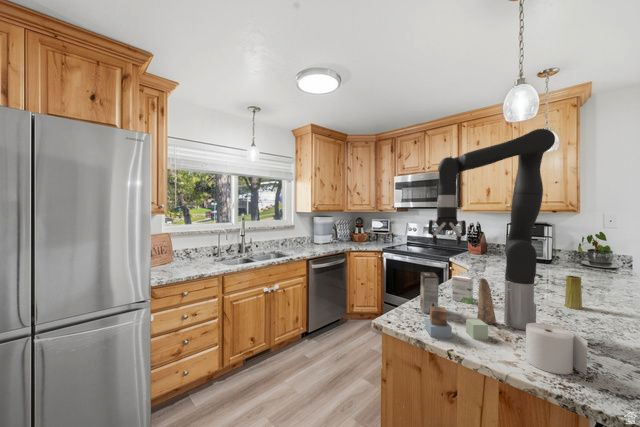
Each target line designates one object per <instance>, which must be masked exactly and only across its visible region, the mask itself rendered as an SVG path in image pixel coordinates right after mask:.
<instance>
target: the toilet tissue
mask: <svg viewBox="0 0 640 427" xmlns="http://www.w3.org/2000/svg"><path fill="white" fill-rule="evenodd" d="M588 342H589V341H588V340H587V339H585V338H583V337H582V336H580V335H579V334H576V333H574V332H572V331H569V330H568V329H565V328H563V327H560V326H556V325H553V324H548V323H542V322H536V323H528V324H527V325H526V330H525V357H524V358H525V360H526V362H528V363H529V364H530V365H532V366H533V367H535V368H536V369H539V370H541V371H545V372H548V373H552V374H557V375H571V374H572V373H573V372H574V370H573V369H574V368H575V369H576V370H578V371H579V372H581V373H582V374H584V376H587V375H588V374H587V373H588V372H587V371H588V370H587V369H588V344H589V343H588Z"/></svg>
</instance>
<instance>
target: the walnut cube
mask: <svg viewBox="0 0 640 427" xmlns="http://www.w3.org/2000/svg"><path fill="white" fill-rule="evenodd" d="M429 319H430V321H431V324H432V325H440V326H447V323H448V320H447V319H448V311H447V309H446V308H445V307H444V306H438V307H436V306H430V313H429Z"/></svg>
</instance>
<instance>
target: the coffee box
mask: <svg viewBox="0 0 640 427" xmlns="http://www.w3.org/2000/svg"><path fill="white" fill-rule="evenodd" d="M419 301H420V304H419V305H420V308H421V310H422V313H423V314H430V306H436V307H439V276H438V275H437V274H436V273H435V272H426V271H425V272H424V271H420V300H419Z"/></svg>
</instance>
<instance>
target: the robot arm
mask: <svg viewBox="0 0 640 427" xmlns="http://www.w3.org/2000/svg"><path fill="white" fill-rule="evenodd" d="M555 136H556V135H555V134H554V133H553V132H552V131H551V130H549V129H547V128H537V129H533V130H531V131H529V132H527V133H525V134H523V135H521V136H519V137H516V138H513V139H510V140H508V141H504V142H502V143H498V144H493V145H489V146H487V147H482V148H478V149H476V150H471V151H469V152H466V153H464V154H461V155H460V156H456V157H451V156H447V157H444V158H443V159H441V160H440V162H439V164H438V168H437V171H438V186H437V200H436V201H437V203H436V204H437V206H436V207H437V210H436V219H435V220H433V219H429V220H428V231H427V232H428V235H431V236H432V244H434V245H436V246H437V244H438V243H437V242H438V236H437V235H438V233H439V232H441V231H450V232H451V231H453V233H454V234H456V241H455V243H456V244H455V245H456V246H459V247H460V245H461V243H462V237H463V236H466V235H467V228H466V227H467V224H466V223H467V222H466V220H458V199H457V195H458V194H457V189H458V188H457V179H458V174H459V173H462V172H465V171H469V170H470V171H471V170H475V169H478V168H482V167H485V166H488V165H489V166H490V165H492V164H494V163H497V162H501V161H503V160H506V159H510V158H512V157H517V156H518V160H517V161H518V163H517V171H516V172H517V173H516V176H515V182H514V187H513V192H512V200H511V207H510V208H511V210H510V228H509V232H508V236H507V239H506V242H505V246H504V255H505V256H506V261H505V262H506V263H505V265H506V269H505V273H504V312H503V313H504V314H503V315H504V316H503V317H504V318H503V319H504V321H503V322H504V324H505V325H506V326H508V327H510V328H513V329H516V330H522V331H526V325H527V324H528V323H537V304H536V303H535V278H536V275H537V257H538V256H537V251H536V248H535V246H534V245H532V242H533V241H532V239H533V231H534V230H533V229H534V226H535V224H536V221H537V219H538V216H539V213H540V212H541V209H542V201H543V196H544V186H543V179H542V175H541V165H542V160H543V156H544V154H545V153H546V152H547V151H549V150H551V148H553V146H554V144H555V142H556V137H555ZM435 224H436V225H437V228H435V230H434V231H433V226H434V225H435ZM458 224H459V226H460V228H461V232H460V231H459V229H457V227H456V226H457V225H458Z"/></svg>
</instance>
